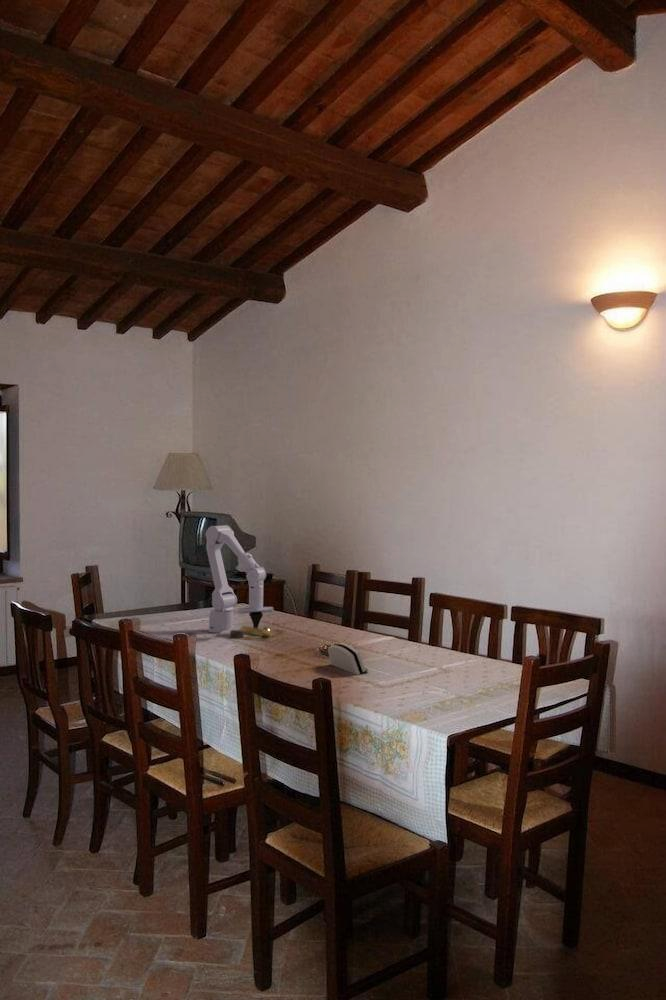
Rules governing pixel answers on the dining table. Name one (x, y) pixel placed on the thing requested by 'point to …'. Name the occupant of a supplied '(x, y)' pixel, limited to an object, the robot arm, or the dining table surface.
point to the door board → (246, 636)
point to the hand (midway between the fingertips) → (255, 630)
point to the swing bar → (257, 630)
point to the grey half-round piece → (346, 658)
